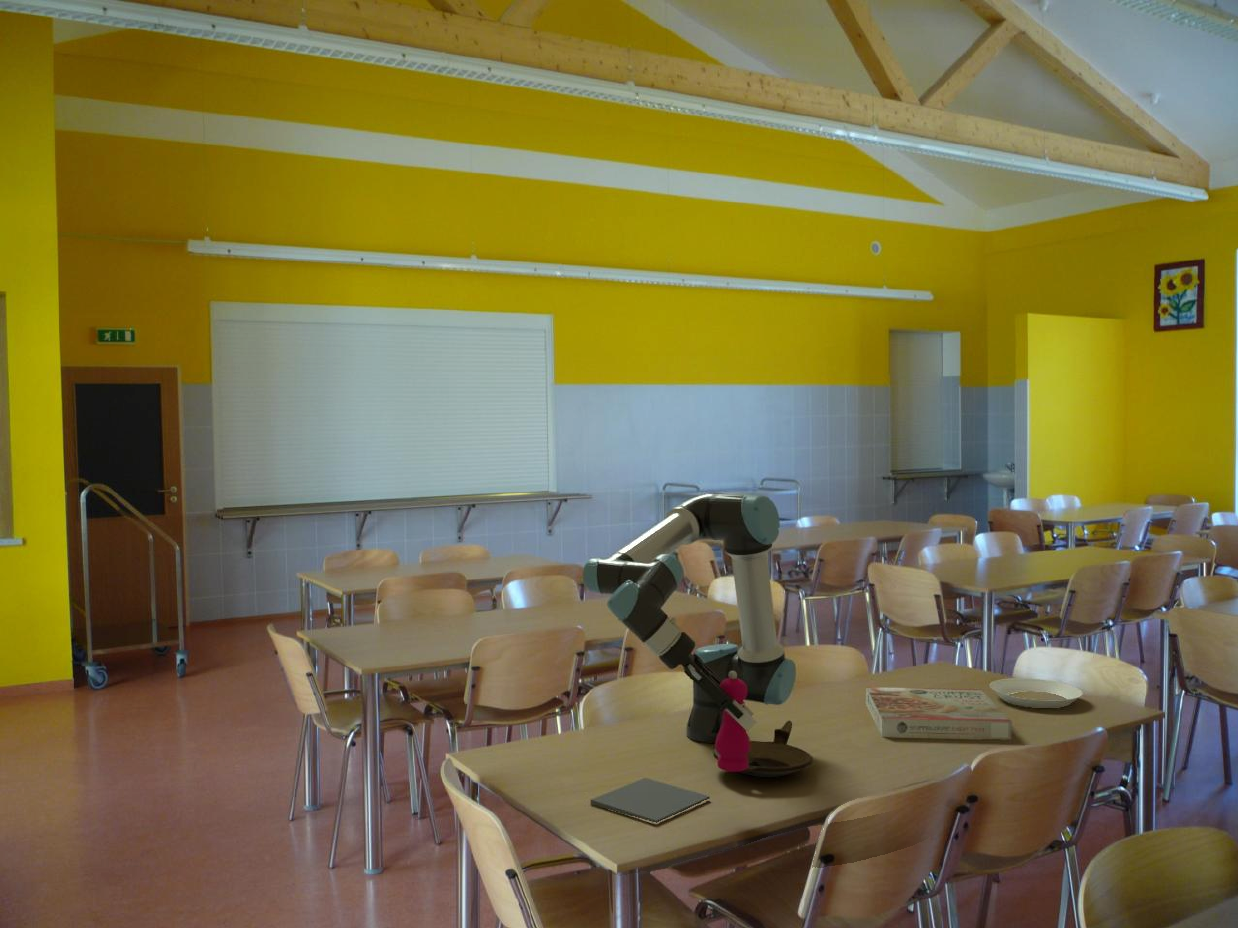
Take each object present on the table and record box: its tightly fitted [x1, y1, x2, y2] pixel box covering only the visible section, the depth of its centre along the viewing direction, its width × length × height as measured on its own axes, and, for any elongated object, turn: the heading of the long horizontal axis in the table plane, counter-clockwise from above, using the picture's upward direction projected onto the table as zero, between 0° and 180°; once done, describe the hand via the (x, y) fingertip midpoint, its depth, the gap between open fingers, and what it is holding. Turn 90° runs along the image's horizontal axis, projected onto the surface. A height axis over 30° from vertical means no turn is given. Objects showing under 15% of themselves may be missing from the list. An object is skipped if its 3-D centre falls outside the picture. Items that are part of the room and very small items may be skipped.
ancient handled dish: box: [712, 720, 814, 778], centre depth 246 cm, size 22×30×8 cm
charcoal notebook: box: [590, 777, 711, 823], centre depth 225 cm, size 18×18×1 cm
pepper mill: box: [714, 671, 751, 773], centre depth 218 cm, size 7×7×20 cm
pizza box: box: [865, 686, 1013, 740], centre depth 285 cm, size 32×5×32 cm
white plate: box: [989, 677, 1084, 709], centre depth 305 cm, size 25×25×4 cm
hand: (750, 721), depth 218 cm, fingers closed on pepper mill, 5 cm apart
